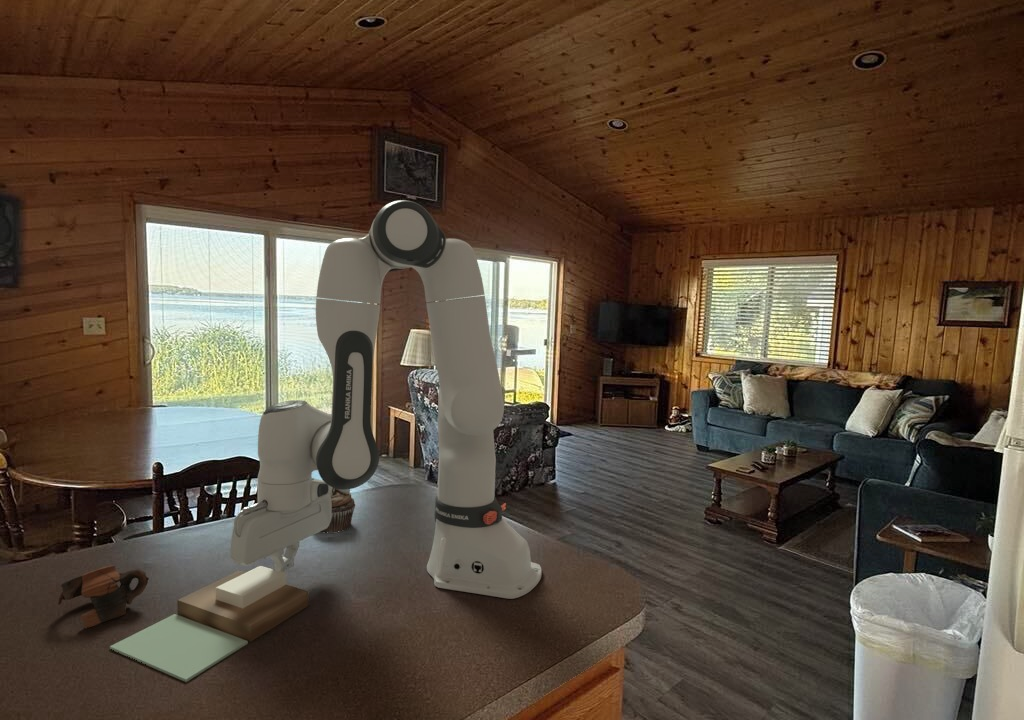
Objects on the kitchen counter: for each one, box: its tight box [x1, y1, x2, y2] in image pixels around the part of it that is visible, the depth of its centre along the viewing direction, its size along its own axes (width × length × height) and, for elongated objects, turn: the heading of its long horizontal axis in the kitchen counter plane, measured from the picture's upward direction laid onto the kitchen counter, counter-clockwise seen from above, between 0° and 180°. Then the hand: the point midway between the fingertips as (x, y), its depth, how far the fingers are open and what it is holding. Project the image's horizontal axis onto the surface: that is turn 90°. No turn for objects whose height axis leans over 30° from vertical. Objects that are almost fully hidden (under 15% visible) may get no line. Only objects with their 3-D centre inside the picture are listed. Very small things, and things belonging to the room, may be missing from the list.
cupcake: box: [319, 487, 356, 534], centre depth 132 cm, size 10×10×10 cm
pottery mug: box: [57, 565, 150, 628], centre depth 94 cm, size 12×10×8 cm
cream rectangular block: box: [216, 565, 287, 608], centre depth 97 cm, size 9×6×2 cm, turn 156°
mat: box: [109, 613, 249, 683], centre depth 85 cm, size 16×10×1 cm, turn 66°
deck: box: [176, 570, 310, 643], centre depth 95 cm, size 16×12×2 cm
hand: (284, 569), depth 103 cm, fingers closed
